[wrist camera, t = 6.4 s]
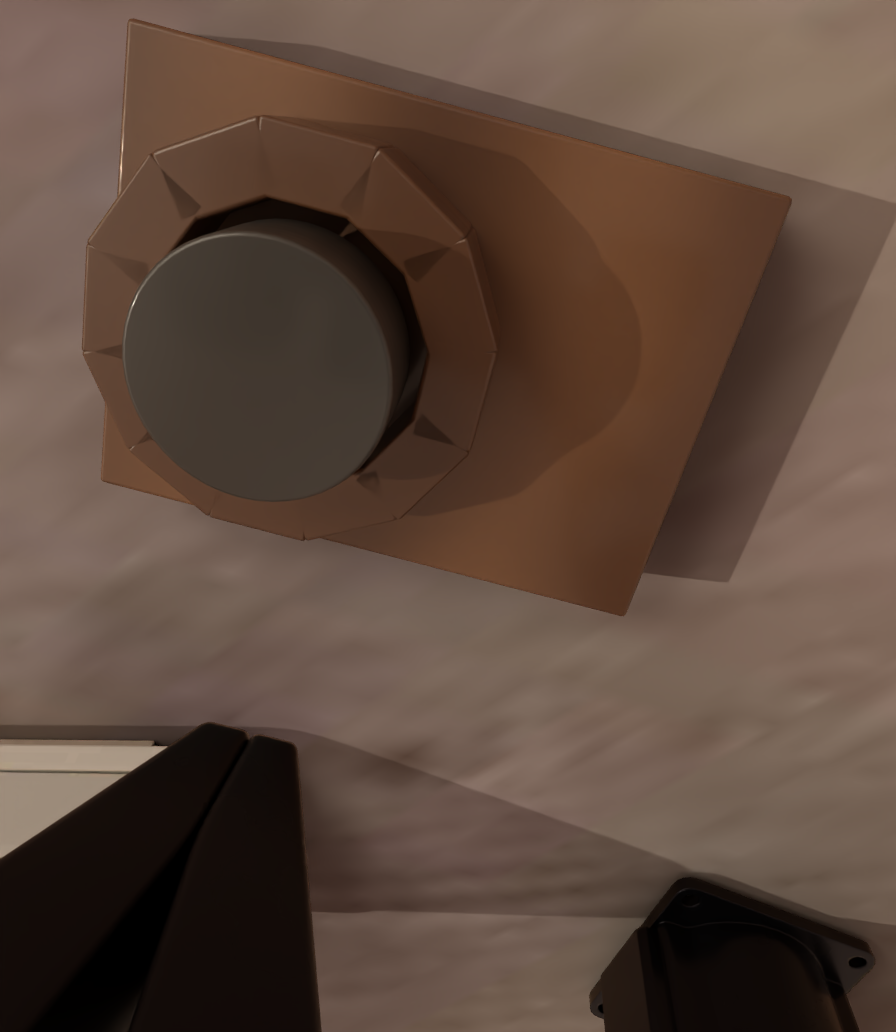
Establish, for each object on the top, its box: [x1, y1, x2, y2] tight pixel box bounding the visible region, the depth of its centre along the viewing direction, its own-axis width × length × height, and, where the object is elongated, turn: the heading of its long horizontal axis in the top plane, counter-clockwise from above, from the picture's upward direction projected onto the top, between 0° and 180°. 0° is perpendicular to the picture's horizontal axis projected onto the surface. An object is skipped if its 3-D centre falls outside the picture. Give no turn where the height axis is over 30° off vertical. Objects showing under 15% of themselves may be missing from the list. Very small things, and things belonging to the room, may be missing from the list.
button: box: [122, 218, 410, 502], centre depth 14 cm, size 4×4×2 cm
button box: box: [82, 19, 792, 616], centre depth 16 cm, size 12×9×4 cm
